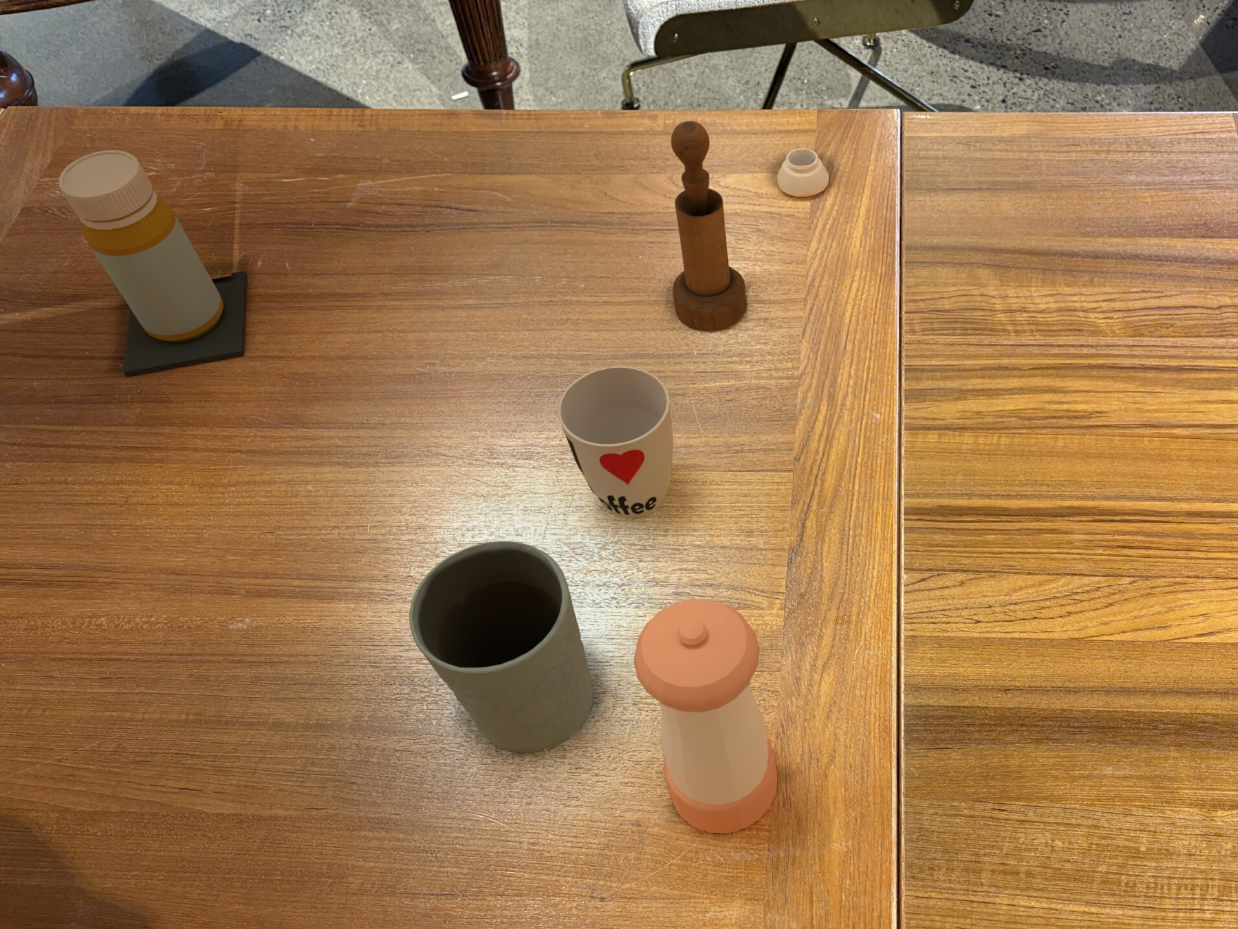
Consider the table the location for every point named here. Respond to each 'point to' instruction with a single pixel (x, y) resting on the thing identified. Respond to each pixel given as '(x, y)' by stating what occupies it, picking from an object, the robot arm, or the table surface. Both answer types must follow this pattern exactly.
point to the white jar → (802, 174)
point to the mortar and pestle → (703, 242)
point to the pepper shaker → (708, 713)
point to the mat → (208, 347)
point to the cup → (620, 437)
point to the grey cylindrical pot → (506, 643)
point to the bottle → (141, 246)
